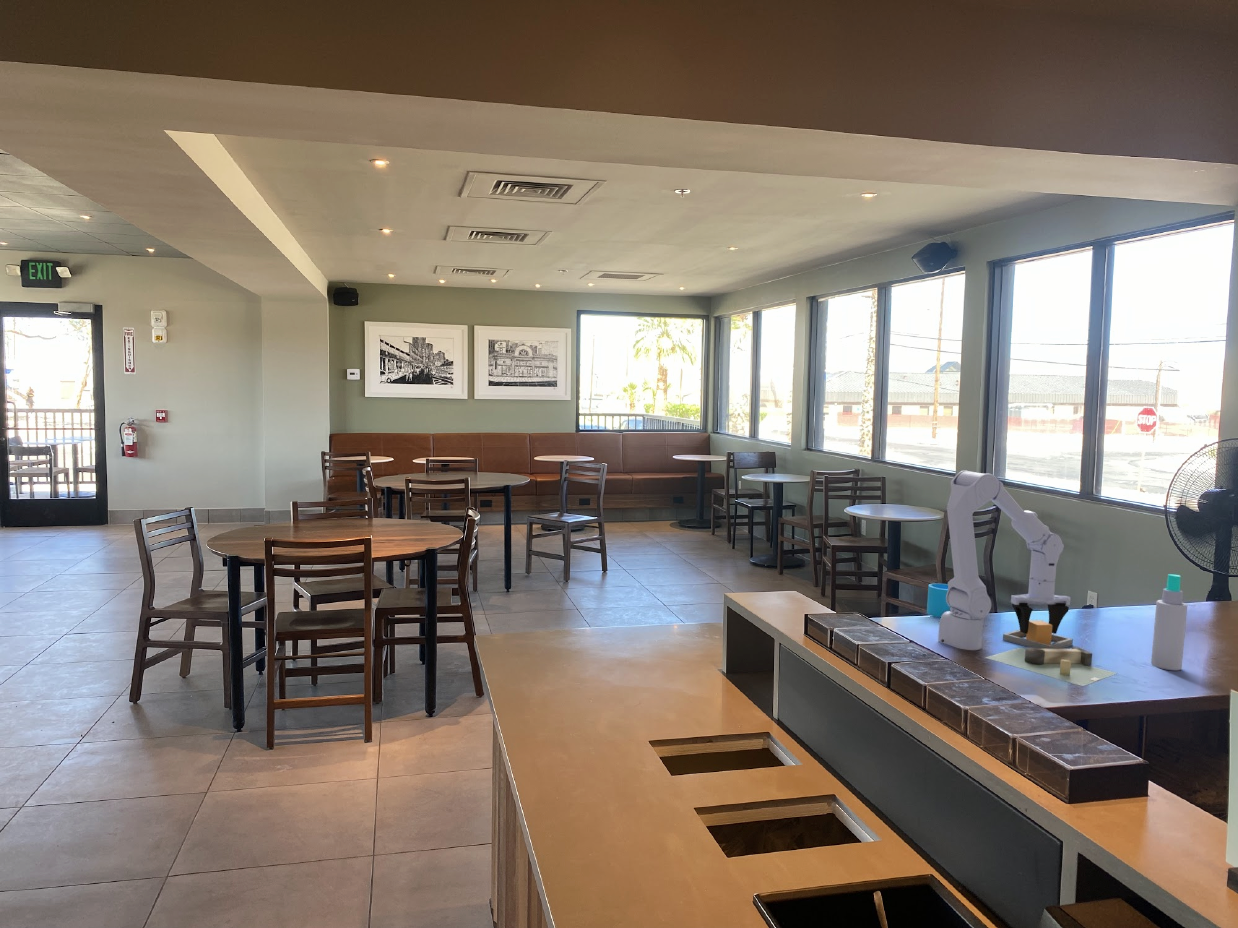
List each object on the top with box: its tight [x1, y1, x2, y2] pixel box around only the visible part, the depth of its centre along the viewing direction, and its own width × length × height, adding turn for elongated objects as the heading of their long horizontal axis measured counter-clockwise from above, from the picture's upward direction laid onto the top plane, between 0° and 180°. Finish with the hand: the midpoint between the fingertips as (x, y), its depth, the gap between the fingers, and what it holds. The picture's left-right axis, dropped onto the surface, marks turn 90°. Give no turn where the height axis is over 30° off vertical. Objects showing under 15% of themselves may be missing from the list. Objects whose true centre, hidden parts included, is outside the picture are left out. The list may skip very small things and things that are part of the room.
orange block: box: [1025, 620, 1053, 645], centre depth 205 cm, size 4×4×6 cm
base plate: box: [984, 646, 1118, 687], centre depth 187 cm, size 22×16×4 cm
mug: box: [926, 583, 950, 618], centre depth 235 cm, size 12×8×8 cm
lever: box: [1025, 646, 1093, 666], centre depth 190 cm, size 14×5×3 cm, turn 96°
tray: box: [1002, 629, 1074, 649], centre depth 206 cm, size 12×12×3 cm
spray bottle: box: [1150, 573, 1188, 672], centre depth 193 cm, size 6×6×22 cm
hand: (1038, 632), depth 206 cm, fingers open, 7 cm apart
